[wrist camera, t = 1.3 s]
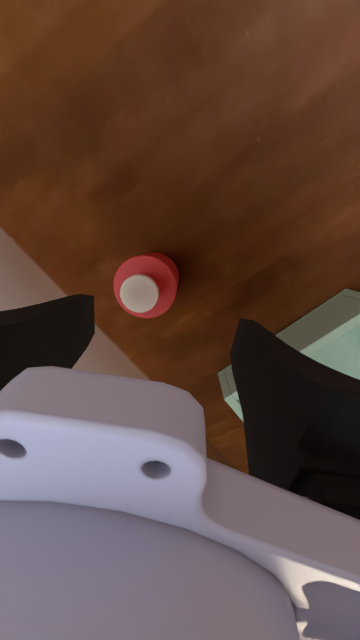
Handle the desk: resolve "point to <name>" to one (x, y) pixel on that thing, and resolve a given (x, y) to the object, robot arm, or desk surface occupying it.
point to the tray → (317, 340)
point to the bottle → (146, 284)
